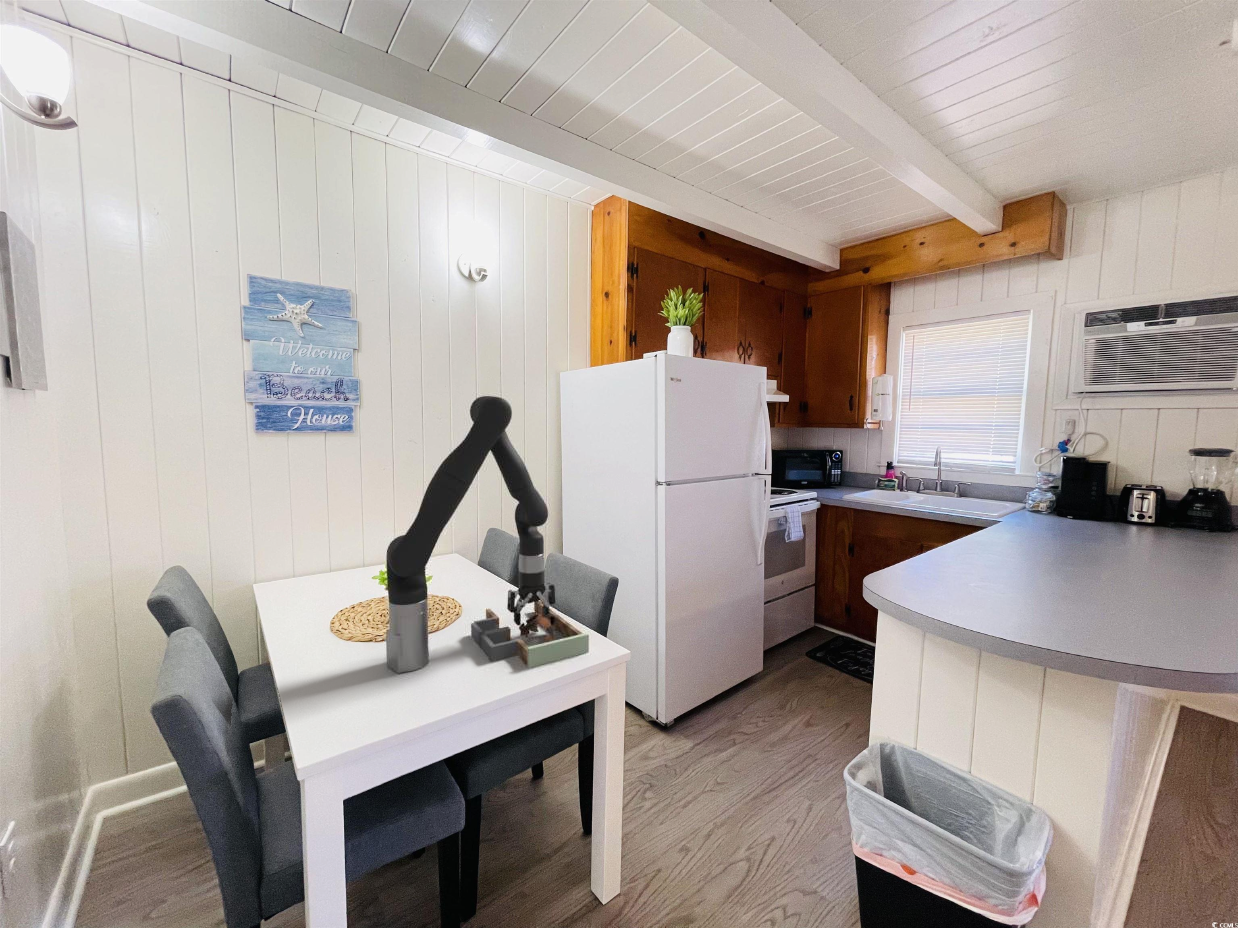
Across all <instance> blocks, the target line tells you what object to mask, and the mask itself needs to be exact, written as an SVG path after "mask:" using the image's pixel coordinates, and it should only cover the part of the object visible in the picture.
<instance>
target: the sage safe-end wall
mask: <svg viewBox="0 0 1238 928" xmlns="http://www.w3.org/2000/svg"><path fill="white" fill-rule="evenodd" d="M589 640H590V634H589V633H587V632H585V633H583V634H580V635H576V636H572V637H568V638H566V637H564V638H561V639H554V641H551V642H543V643H539V644H535V645H531V646H528V647H527V665H526V666H527V667H528V669H531V668H534V667H538V666H542V665H544V664H549V663H552V662H557V661H559V660H565V659H569V658H571V657H575V656H579V655H583V654H588V653H589V652H590V651H589V650H590V648H589V646H590V644H589V643H590V641H589ZM568 657H569V658H568Z"/></svg>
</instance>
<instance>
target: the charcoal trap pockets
mask: <svg viewBox="0 0 1238 928" xmlns="http://www.w3.org/2000/svg"><path fill="white" fill-rule="evenodd" d="M470 627H471V628H470V632H471V634H470V635H471V639H472V640H473V641H474V642H475V643H476V645H477V646H478V647H479V649H481V651H482V652H483V653H484V654H485V657H486V658H488V660H489V661H490V662H491V663H492V662H497V661H501V660H505V659H511V658H513V657H514V658H515V657H518V641H517V640H516V639H513V640H511V641H508V642H506V629H505V628H504V627H505V626H504V627H499V628H498V629H495V618H494V617H493V618H488V619H486V618H485V619H480V620H474V621H473V622H472V623H470Z"/></svg>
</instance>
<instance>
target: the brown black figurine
mask: <svg viewBox="0 0 1238 928" xmlns="http://www.w3.org/2000/svg"><path fill="white" fill-rule="evenodd" d="M549 619H550V620H551V622H550V621H549ZM525 622H526V624H525V623H524V622H521V625H519V626H518V629H519V631H520V634H519V636H520V637H524V636H525V637H526V638H528V637H529V634H530V632H533V633H539V629H538V626H539V625H540V627H541V628H542V629H543V630H545V632H546V633H548V635H547V636H546V637H544V640H545V643H547V642H551V641H555V640H556V636H555V632H554V629H555V628H554V627H555V624H556V617H555V616H554V615H553V614H551V613H550V614H547V615H546V616H544V617H542V616H541V614H536V613H535V614H534V615H532V616H531V617H529V618H528V619H526V620H525Z"/></svg>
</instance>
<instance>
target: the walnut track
mask: <svg viewBox="0 0 1238 928" xmlns="http://www.w3.org/2000/svg"><path fill="white" fill-rule="evenodd" d="M542 606H544V605H543V603H542V602H541V601H540V600H539V601H538V602H533V612H534V611H535V612H536V613H537V614H541V616H542ZM535 612H534V613H535ZM536 613H535V614H536ZM550 613H551V614H553V615H554V616H555V617H556V624H555V627H554V628H553V629H554V630H555V631H557V632H558V633H559V634H561V635H562V637H564V638H568V637H572V636H576V635H580V634H584V633H583V632H582V631H581V630H579V629H578V628H577V627H575V626H574V625H572V624H571V623H569V621H567V620H565V619H564V618H563V617H562V616H560V615H559V614H557V613H556V612H555V611H554V610H552V609H551V608H549V614H550ZM493 617H494V618H495V629H498V628H500V617H499V616H498V615H497V614H496V613H495V612H494V611H493V610H492V609H491V608H486V609H485V619H488V618H493ZM549 621H550V622H551V620H550V619H549ZM504 628H505V629H506V642H508V641H512V640H511V628H510V627H509V626H504ZM515 640H517V641H518V656H517V657H518V658H519V659H521V661H522V662H523V663H524V665H525V666H527V647H529V645H527V644H526V643H525V642H524V641H523V640H522V639H521V638H518V639H517V638H516V639H515Z"/></svg>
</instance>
